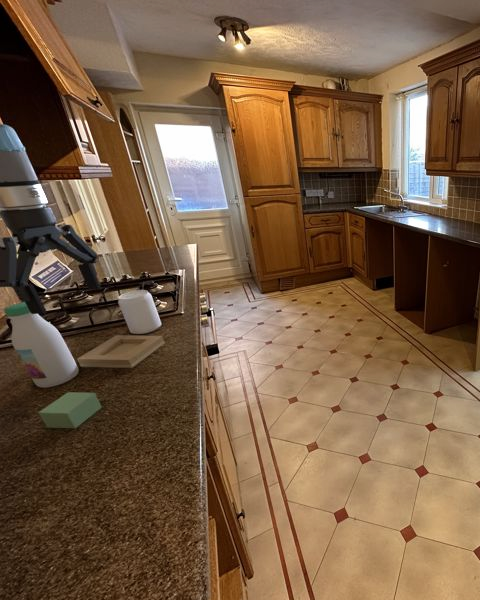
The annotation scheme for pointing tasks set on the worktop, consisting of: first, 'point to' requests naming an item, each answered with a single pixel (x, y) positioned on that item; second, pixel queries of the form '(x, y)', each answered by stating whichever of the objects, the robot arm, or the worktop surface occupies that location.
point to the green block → (70, 410)
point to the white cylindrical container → (139, 311)
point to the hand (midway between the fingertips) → (69, 300)
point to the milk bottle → (40, 347)
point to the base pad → (121, 351)
